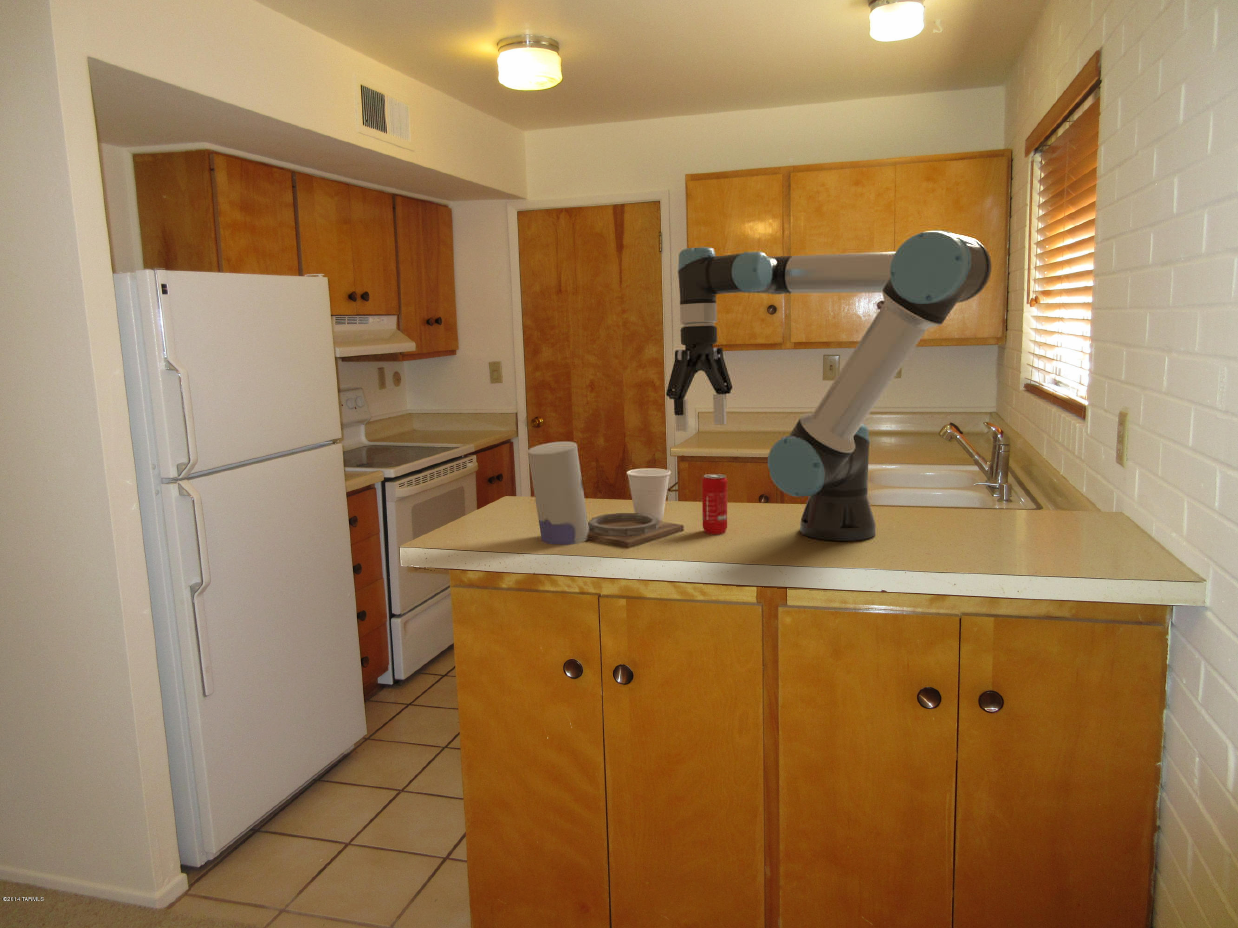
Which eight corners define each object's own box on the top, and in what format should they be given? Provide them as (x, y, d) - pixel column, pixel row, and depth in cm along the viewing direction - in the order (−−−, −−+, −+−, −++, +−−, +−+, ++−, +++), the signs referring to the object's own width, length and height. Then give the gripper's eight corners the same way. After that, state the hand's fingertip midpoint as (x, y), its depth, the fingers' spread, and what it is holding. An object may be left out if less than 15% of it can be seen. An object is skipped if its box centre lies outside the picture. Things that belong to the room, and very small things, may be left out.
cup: (672, 524, 187) (671, 475, 185) (627, 525, 187) (626, 476, 186) (670, 514, 197) (669, 467, 195) (627, 515, 197) (626, 468, 196)
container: (599, 533, 178) (586, 441, 173) (570, 550, 170) (556, 454, 165) (562, 529, 184) (548, 440, 179) (532, 545, 176) (517, 452, 171)
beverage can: (708, 535, 177) (707, 478, 175) (698, 530, 181) (698, 474, 180) (731, 533, 178) (731, 477, 176) (721, 528, 183) (721, 473, 181)
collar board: (683, 530, 181) (683, 518, 181) (628, 548, 168) (628, 534, 168) (619, 519, 193) (619, 507, 193) (563, 535, 180) (563, 522, 179)
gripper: (717, 325, 187) (720, 421, 190) (646, 327, 169) (650, 433, 172) (747, 323, 182) (749, 422, 185) (676, 325, 164) (680, 434, 167)
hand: (701, 428), depth 179 cm, fingers open, 13 cm apart
